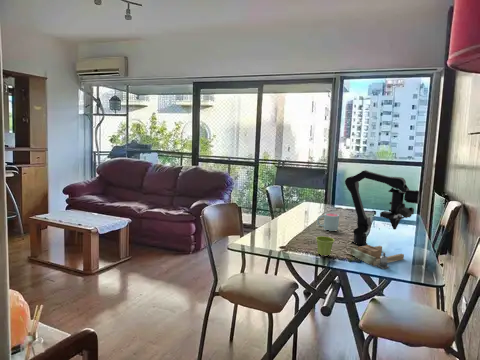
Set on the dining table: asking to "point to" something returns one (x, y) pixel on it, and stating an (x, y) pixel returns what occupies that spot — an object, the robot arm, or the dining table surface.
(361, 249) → the crate
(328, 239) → the plant pot
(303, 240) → the dining table surface
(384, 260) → the winch drum
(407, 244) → the dining table surface
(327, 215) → the mug
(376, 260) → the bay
